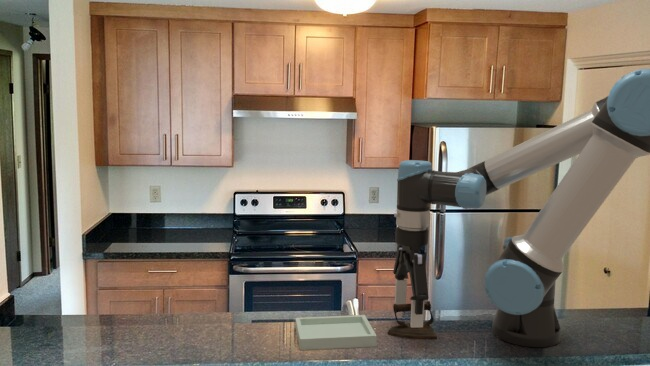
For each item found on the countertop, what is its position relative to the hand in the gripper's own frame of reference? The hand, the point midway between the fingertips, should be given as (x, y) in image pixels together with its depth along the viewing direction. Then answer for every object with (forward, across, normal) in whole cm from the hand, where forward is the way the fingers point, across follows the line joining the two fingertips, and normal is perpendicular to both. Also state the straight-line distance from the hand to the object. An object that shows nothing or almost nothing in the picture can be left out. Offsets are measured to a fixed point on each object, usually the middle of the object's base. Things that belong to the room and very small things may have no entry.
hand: (408, 315), depth 128 cm
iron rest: (+4, 0, -18) cm, 18 cm away
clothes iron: (+4, +1, +1) cm, 5 cm away
